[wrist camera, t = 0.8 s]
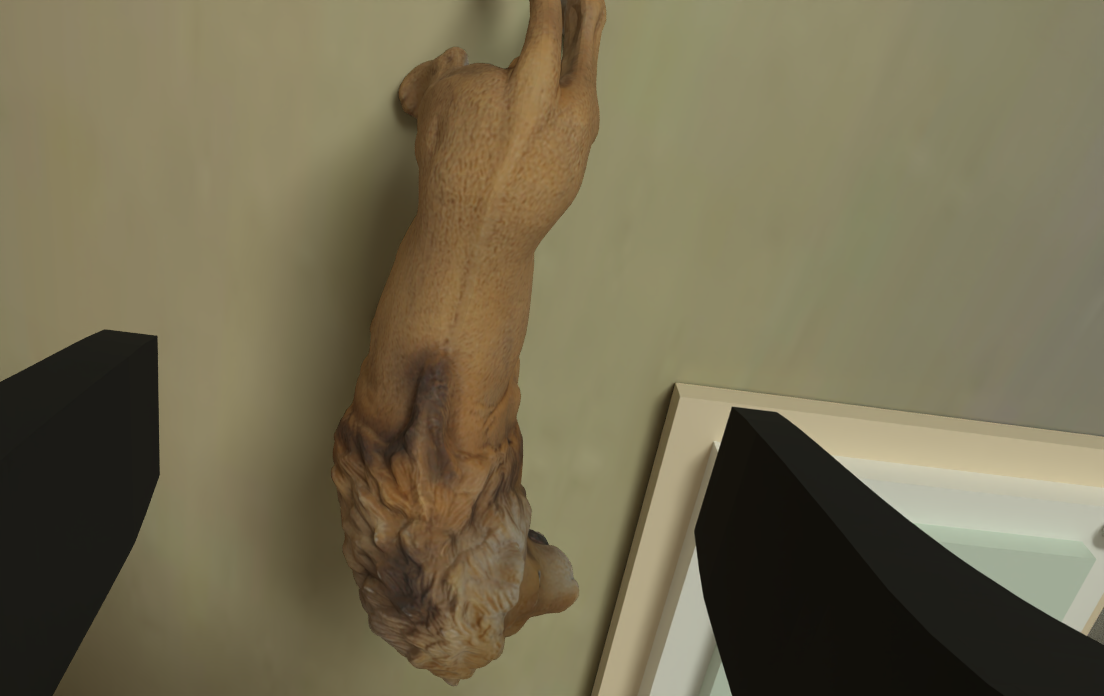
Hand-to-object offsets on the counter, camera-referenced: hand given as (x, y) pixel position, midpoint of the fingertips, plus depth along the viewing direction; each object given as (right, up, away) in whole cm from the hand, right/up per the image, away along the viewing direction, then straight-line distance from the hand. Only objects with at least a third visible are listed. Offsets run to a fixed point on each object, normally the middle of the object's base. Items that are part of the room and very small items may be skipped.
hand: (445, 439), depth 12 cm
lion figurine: (0, +4, +7) cm, 8 cm away
